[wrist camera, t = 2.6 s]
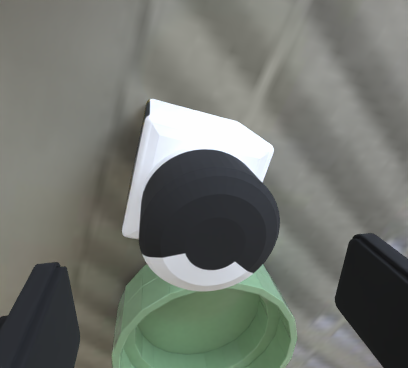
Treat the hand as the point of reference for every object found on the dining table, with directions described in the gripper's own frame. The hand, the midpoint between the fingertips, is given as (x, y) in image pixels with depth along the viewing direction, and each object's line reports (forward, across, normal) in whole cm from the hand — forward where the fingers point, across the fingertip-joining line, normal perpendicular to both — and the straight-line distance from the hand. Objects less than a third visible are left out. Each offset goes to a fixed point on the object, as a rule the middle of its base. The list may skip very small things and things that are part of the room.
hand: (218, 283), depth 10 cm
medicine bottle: (+14, -1, 0) cm, 14 cm away
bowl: (+14, -2, +16) cm, 21 cm away
